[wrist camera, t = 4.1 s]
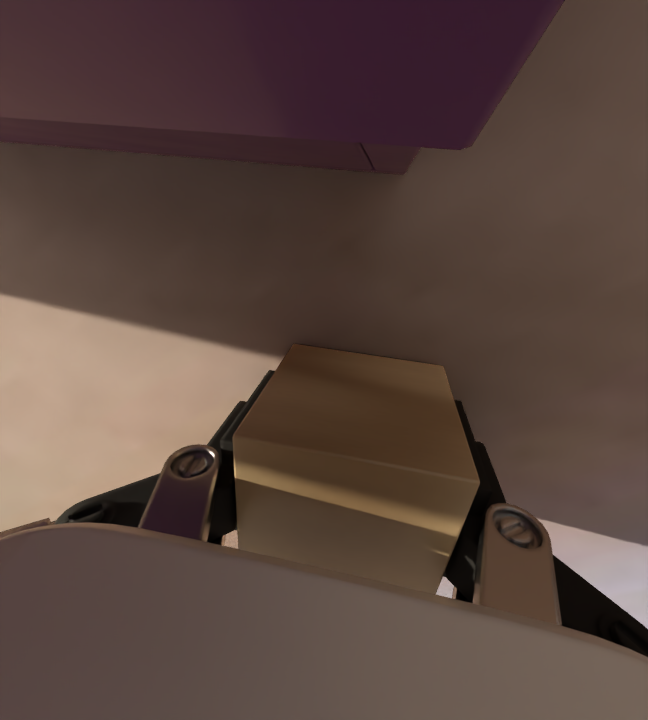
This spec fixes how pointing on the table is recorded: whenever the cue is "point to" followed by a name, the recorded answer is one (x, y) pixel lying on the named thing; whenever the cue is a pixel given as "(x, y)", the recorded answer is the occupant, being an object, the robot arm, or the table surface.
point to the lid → (270, 65)
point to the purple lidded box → (211, 145)
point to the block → (355, 467)
